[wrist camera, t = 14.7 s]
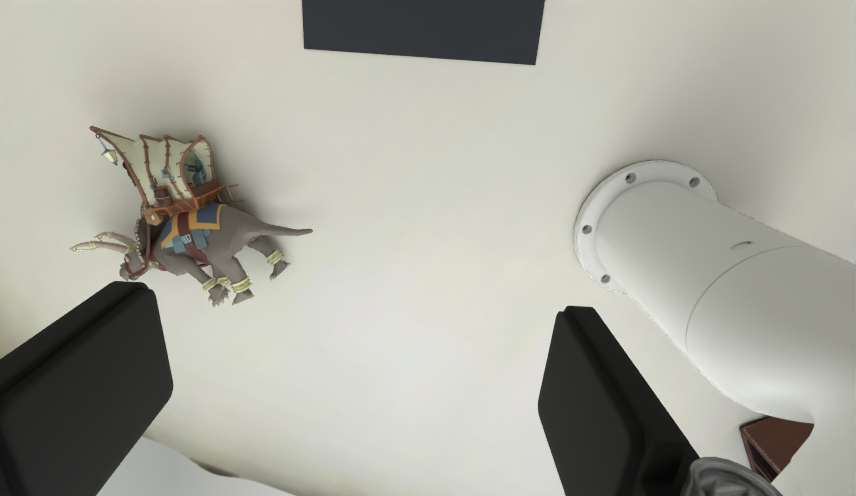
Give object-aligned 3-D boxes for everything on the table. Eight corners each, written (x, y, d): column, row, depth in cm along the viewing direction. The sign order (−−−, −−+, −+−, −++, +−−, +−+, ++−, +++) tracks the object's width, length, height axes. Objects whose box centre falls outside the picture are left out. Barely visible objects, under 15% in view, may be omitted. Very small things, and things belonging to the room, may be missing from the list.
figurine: (120, 347, 37) (-21, 166, 31) (163, 310, 43) (50, 150, 37) (324, 279, 34) (208, 59, 28) (342, 248, 39) (249, 60, 33)
